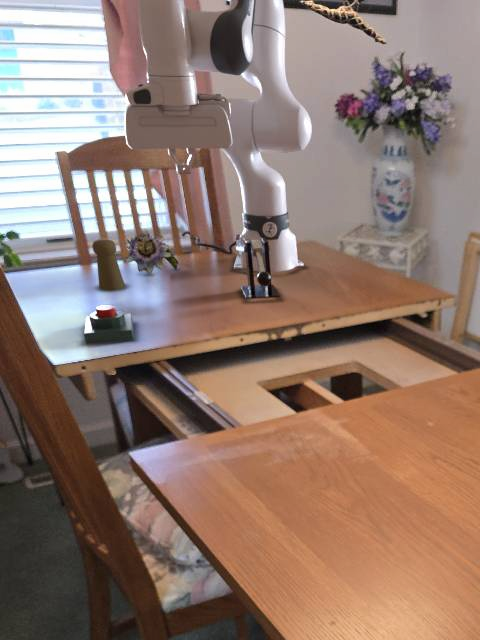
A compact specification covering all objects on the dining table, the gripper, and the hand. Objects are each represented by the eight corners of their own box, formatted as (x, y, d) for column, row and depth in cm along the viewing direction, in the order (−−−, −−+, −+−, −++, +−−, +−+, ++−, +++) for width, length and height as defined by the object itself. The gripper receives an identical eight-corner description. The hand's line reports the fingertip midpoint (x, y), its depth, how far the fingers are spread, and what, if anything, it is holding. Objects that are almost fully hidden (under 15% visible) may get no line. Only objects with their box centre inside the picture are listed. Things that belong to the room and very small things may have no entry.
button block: (88, 326, 149) (84, 307, 147) (133, 323, 152) (129, 304, 149) (86, 344, 141) (81, 324, 138) (133, 341, 143) (130, 321, 141)
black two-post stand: (280, 300, 168) (276, 244, 161) (246, 302, 166) (241, 245, 159) (273, 289, 176) (270, 234, 168) (241, 291, 173) (236, 236, 166)
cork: (129, 284, 175) (120, 237, 168) (119, 291, 170) (109, 243, 163) (105, 283, 175) (96, 236, 169) (94, 290, 170) (84, 241, 164)
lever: (272, 289, 161) (272, 278, 159) (258, 289, 161) (258, 278, 158) (262, 249, 167) (262, 238, 164) (248, 249, 166) (248, 238, 163)
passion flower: (153, 295, 186) (119, 260, 177) (149, 276, 193) (115, 241, 184) (187, 269, 184) (153, 232, 175) (181, 251, 191) (149, 215, 182)
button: (97, 313, 145) (95, 305, 144) (116, 312, 146) (114, 304, 145) (97, 319, 142) (95, 310, 141) (116, 318, 143) (114, 309, 142)
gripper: (227, 92, 140) (234, 170, 148) (117, 91, 134) (132, 171, 142) (230, 95, 135) (238, 175, 143) (117, 94, 130) (132, 177, 138)
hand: (184, 173), depth 143 cm, fingers closed
